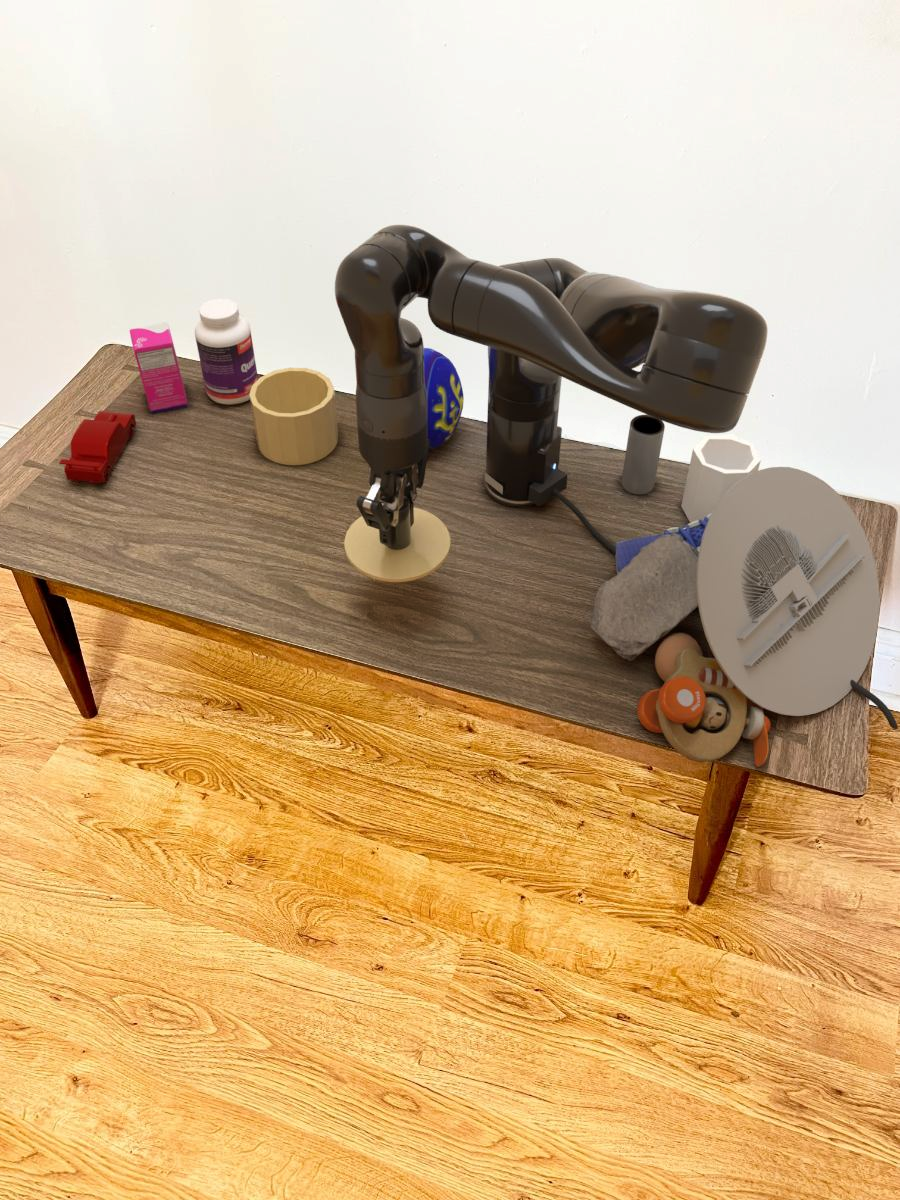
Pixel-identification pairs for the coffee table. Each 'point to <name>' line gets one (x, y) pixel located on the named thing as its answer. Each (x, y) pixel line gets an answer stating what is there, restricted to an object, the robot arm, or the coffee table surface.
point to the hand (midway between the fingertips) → (397, 533)
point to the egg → (673, 653)
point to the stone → (647, 596)
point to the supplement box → (159, 367)
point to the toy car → (98, 446)
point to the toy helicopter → (703, 711)
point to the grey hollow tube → (642, 454)
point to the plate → (788, 591)
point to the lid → (399, 547)
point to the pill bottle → (225, 352)
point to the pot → (294, 415)
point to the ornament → (441, 397)
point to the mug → (716, 472)
